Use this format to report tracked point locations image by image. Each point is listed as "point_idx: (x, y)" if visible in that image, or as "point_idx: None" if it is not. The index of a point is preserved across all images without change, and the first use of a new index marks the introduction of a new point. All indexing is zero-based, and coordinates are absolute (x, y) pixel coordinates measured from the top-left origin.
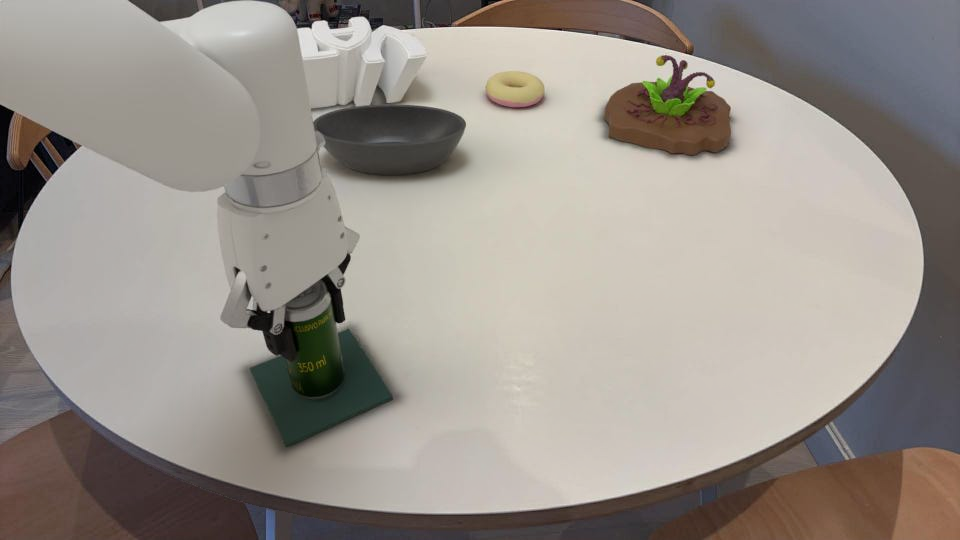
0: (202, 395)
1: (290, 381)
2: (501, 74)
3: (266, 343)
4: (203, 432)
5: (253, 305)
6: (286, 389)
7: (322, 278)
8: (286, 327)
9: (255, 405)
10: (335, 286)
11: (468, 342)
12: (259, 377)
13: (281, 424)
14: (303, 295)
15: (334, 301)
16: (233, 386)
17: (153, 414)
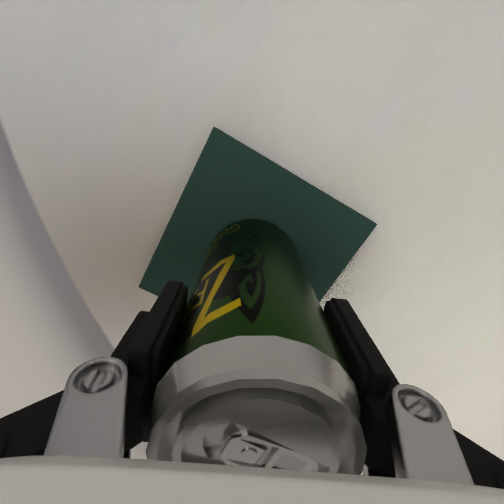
0: (121, 86)
1: (214, 239)
2: None
3: (134, 321)
4: (75, 156)
5: (51, 436)
6: (212, 222)
7: (380, 437)
8: (146, 434)
9: (165, 192)
10: (363, 468)
11: (413, 373)
12: (206, 162)
13: (158, 261)
14: (258, 466)
15: None
16: (171, 125)
17: (30, 30)
